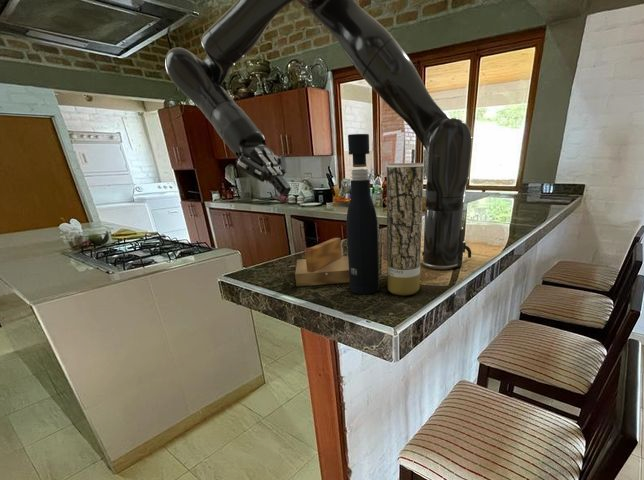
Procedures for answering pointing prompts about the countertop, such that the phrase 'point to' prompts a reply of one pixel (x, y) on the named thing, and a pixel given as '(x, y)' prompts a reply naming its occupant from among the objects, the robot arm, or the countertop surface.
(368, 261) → the black water bottle
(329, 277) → the wooden box
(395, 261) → the paper tube
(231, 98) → the robot arm
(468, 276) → the countertop surface
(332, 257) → the tan wooden flat block
